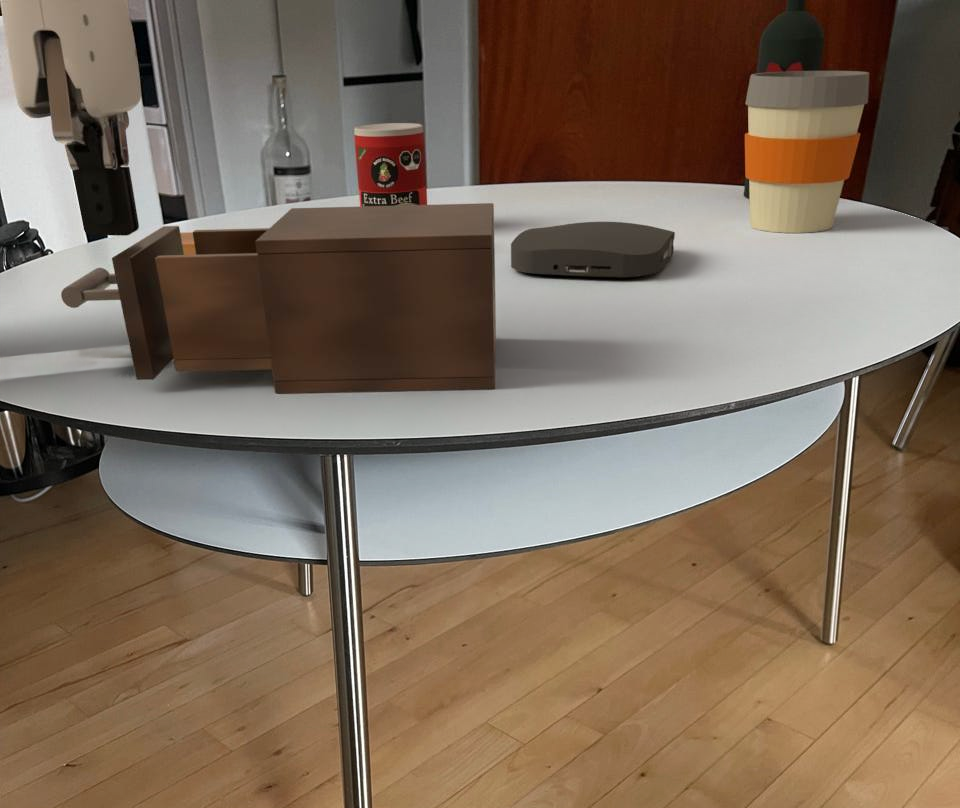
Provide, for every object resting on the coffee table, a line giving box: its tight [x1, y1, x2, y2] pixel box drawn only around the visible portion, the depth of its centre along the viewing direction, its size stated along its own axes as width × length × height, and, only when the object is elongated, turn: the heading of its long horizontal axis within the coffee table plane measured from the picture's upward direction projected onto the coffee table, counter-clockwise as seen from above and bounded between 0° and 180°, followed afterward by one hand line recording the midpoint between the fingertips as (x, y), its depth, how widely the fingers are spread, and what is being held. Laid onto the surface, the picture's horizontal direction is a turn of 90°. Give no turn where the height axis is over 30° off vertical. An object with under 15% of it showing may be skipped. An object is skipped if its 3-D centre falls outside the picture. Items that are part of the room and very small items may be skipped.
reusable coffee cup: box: [744, 70, 870, 234], centre depth 111 cm, size 13×13×15 cm
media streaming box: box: [510, 221, 676, 279], centre depth 100 cm, size 15×15×3 cm
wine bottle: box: [743, 0, 826, 199], centre depth 125 cm, size 8×10×30 cm
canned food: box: [353, 122, 428, 207], centre depth 116 cm, size 8×8×11 cm
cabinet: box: [255, 202, 497, 394], centre depth 71 cm, size 15×13×10 cm
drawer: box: [60, 225, 272, 381], centre depth 71 cm, size 18×11×8 cm, turn 89°
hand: (112, 232), depth 69 cm, fingers closed
